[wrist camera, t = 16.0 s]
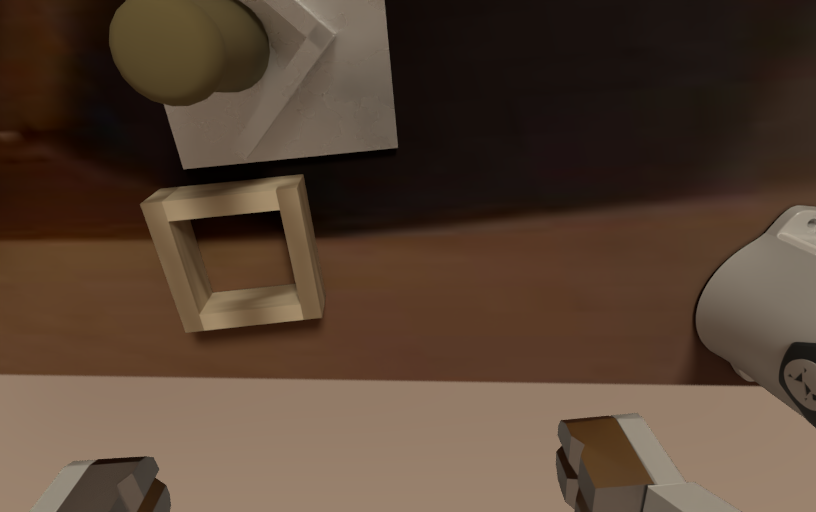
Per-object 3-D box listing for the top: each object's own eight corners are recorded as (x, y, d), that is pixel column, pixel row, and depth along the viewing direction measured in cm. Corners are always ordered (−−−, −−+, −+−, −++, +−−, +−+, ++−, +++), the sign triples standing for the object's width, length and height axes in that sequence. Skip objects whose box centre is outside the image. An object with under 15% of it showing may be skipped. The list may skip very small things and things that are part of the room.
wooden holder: (303, 174, 36) (296, 188, 33) (325, 295, 41) (322, 317, 38) (160, 188, 36) (139, 203, 33) (200, 309, 41) (185, 332, 38)
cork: (211, -29, 29) (131, -59, 20) (288, 44, 32) (251, 51, 22) (158, 46, 31) (59, 54, 21) (235, 111, 33) (177, 146, 23)
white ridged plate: (373, -114, 29) (373, -133, 25) (397, 145, 36) (400, 157, 32) (110, -92, 28) (75, -109, 25) (187, 166, 35) (167, 181, 32)
